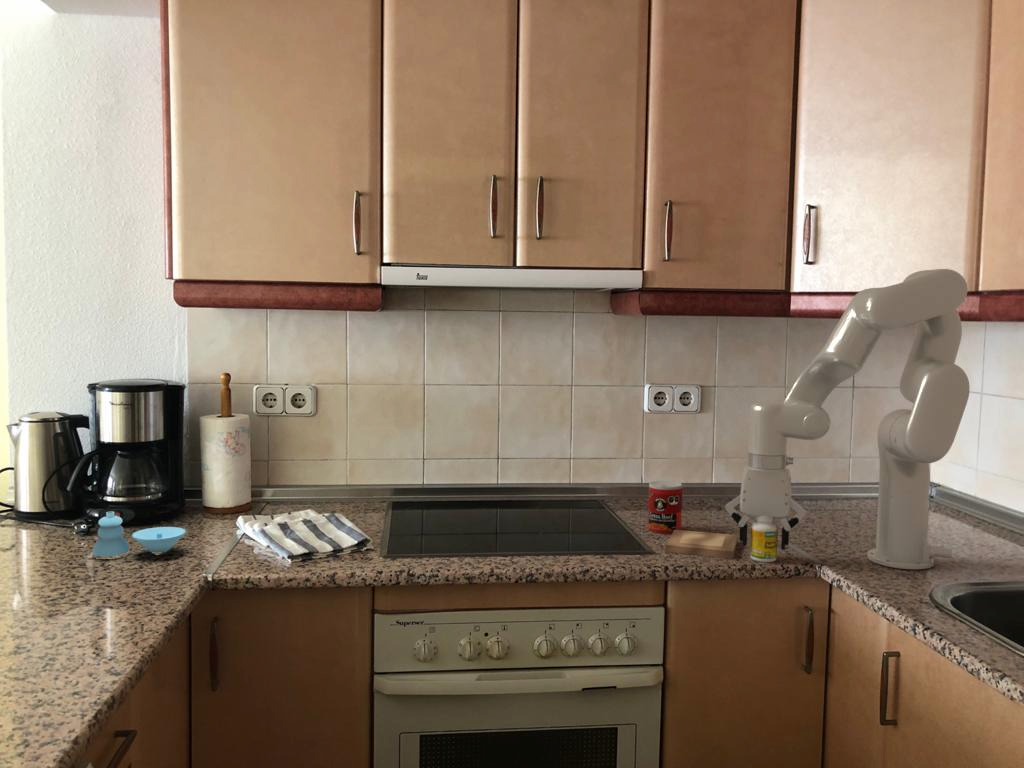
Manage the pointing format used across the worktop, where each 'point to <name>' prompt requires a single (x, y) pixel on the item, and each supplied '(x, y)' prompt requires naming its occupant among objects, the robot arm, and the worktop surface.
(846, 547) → the worktop surface
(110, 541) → the light blue rounded pieces
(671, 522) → the canned food
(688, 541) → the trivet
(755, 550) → the supplement bottle
